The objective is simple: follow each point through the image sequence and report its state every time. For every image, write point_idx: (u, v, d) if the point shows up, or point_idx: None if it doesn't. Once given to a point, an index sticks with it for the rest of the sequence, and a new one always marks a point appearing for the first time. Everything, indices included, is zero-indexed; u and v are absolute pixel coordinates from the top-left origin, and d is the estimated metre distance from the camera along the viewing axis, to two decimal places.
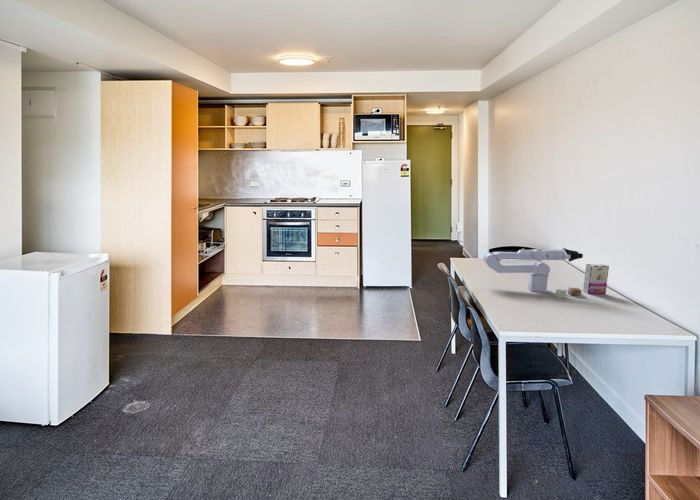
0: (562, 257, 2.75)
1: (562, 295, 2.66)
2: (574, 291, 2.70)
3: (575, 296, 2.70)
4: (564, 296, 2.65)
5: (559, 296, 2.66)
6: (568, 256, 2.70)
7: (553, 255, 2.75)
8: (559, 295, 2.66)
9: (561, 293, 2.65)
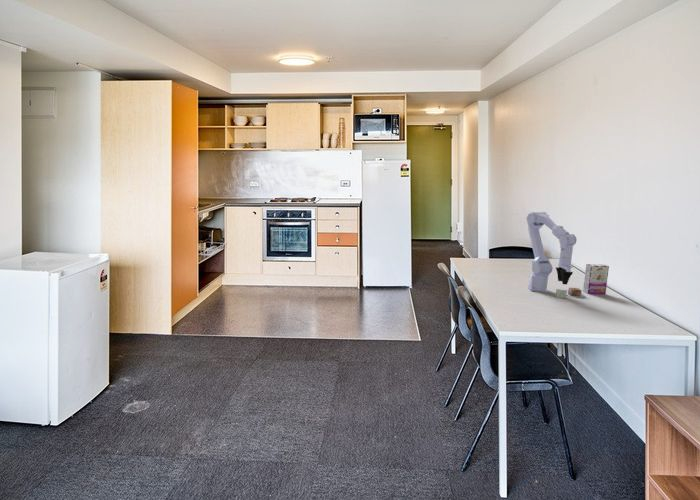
0: (564, 264, 2.62)
1: (562, 295, 2.66)
2: (574, 291, 2.70)
3: (575, 296, 2.70)
4: (564, 296, 2.65)
5: (559, 296, 2.66)
6: (569, 270, 2.58)
7: (562, 255, 2.63)
8: (559, 295, 2.66)
9: (561, 293, 2.65)
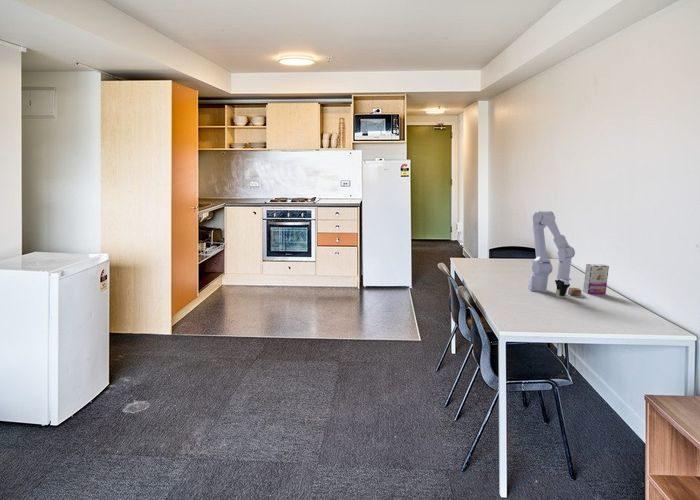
0: (562, 277, 2.63)
1: None
2: (574, 291, 2.70)
3: (575, 296, 2.70)
4: (564, 296, 2.65)
5: (559, 296, 2.66)
6: (567, 282, 2.59)
7: (560, 267, 2.64)
8: (559, 295, 2.66)
9: None
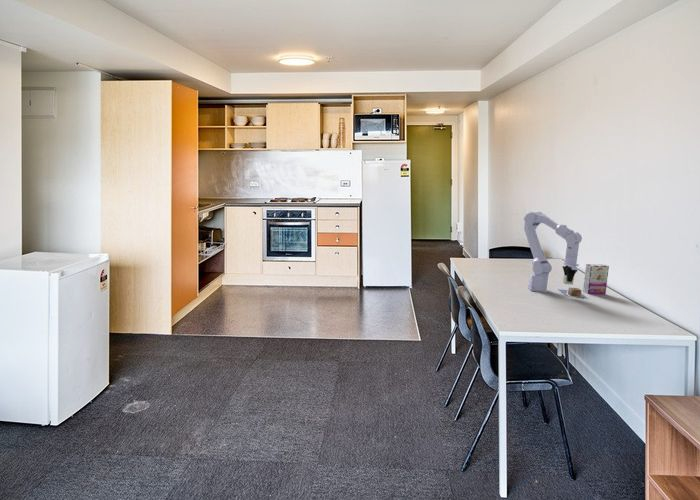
0: (570, 263, 2.64)
1: None
2: (574, 291, 2.70)
3: (575, 296, 2.70)
4: (571, 282, 2.66)
5: (566, 282, 2.67)
6: (574, 268, 2.60)
7: (569, 253, 2.64)
8: (566, 281, 2.67)
9: None
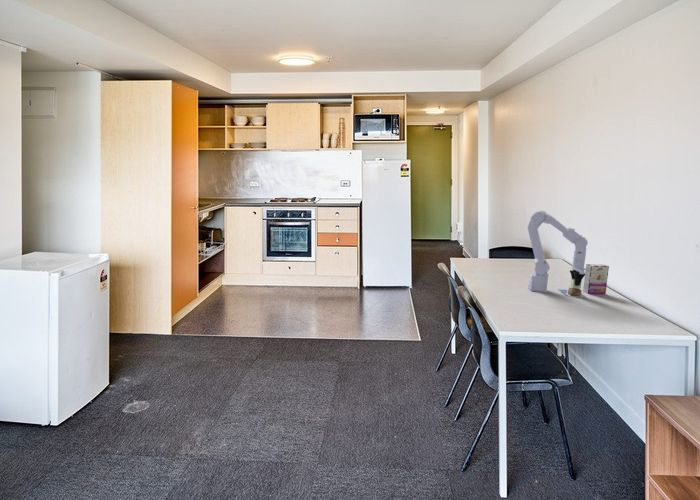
0: (577, 267, 2.68)
1: None
2: (574, 291, 2.70)
3: (575, 296, 2.70)
4: (579, 286, 2.70)
5: (574, 286, 2.70)
6: (582, 272, 2.64)
7: (579, 258, 2.67)
8: (574, 285, 2.70)
9: None
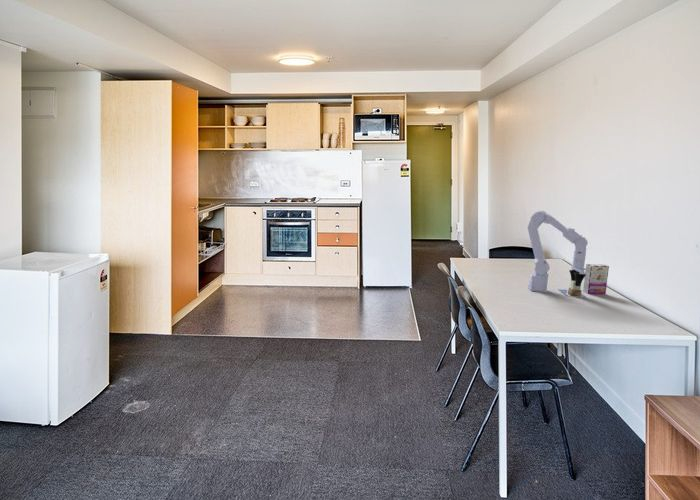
0: (577, 267, 2.68)
1: (577, 286, 2.70)
2: (574, 291, 2.70)
3: (575, 296, 2.70)
4: (579, 287, 2.70)
5: (574, 287, 2.71)
6: (582, 272, 2.64)
7: (579, 258, 2.67)
8: (574, 286, 2.70)
9: None
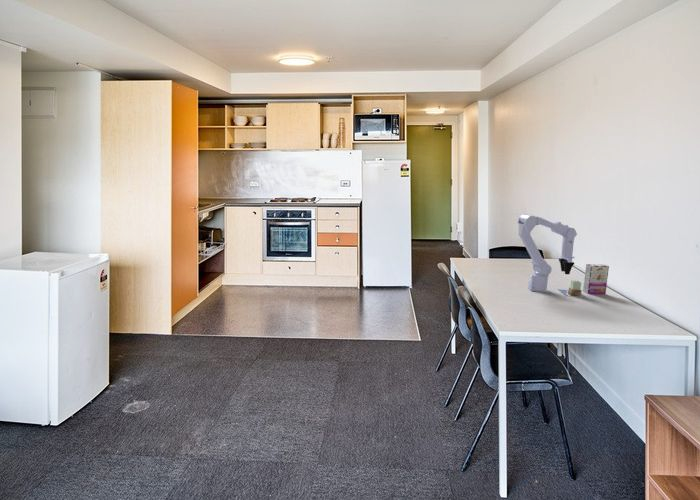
0: (566, 255, 2.78)
1: (577, 286, 2.70)
2: (574, 291, 2.70)
3: (575, 296, 2.70)
4: (579, 287, 2.70)
5: (574, 287, 2.71)
6: (570, 260, 2.74)
7: (570, 247, 2.77)
8: (574, 286, 2.70)
9: (576, 284, 2.70)
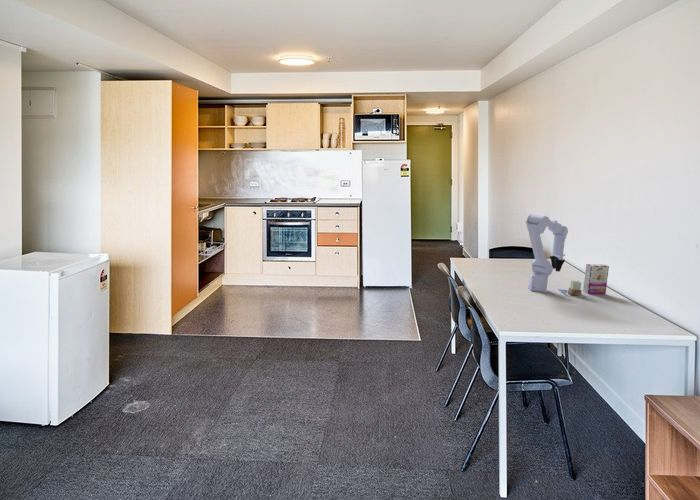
0: (557, 253, 2.85)
1: (577, 286, 2.70)
2: (574, 291, 2.70)
3: (575, 296, 2.70)
4: (579, 287, 2.70)
5: (574, 287, 2.71)
6: (561, 258, 2.81)
7: (563, 245, 2.84)
8: (574, 286, 2.70)
9: (576, 284, 2.70)
